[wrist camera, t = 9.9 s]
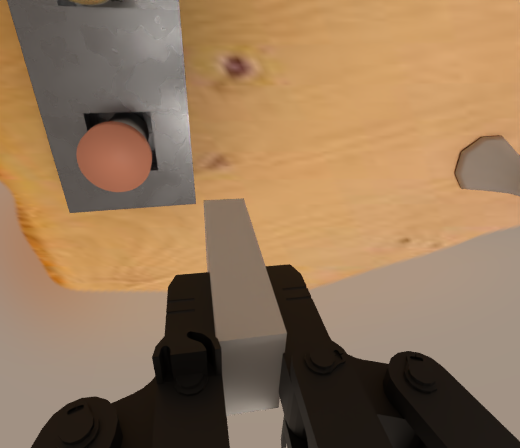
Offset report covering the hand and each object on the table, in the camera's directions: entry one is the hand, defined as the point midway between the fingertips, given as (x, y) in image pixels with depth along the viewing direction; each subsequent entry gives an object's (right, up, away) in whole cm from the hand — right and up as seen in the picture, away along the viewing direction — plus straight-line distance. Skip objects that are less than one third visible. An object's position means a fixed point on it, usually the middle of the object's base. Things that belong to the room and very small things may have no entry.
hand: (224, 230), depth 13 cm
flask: (+30, +8, +31) cm, 44 cm away
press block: (-11, +15, +17) cm, 25 cm away
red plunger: (-11, +9, +18) cm, 22 cm away
